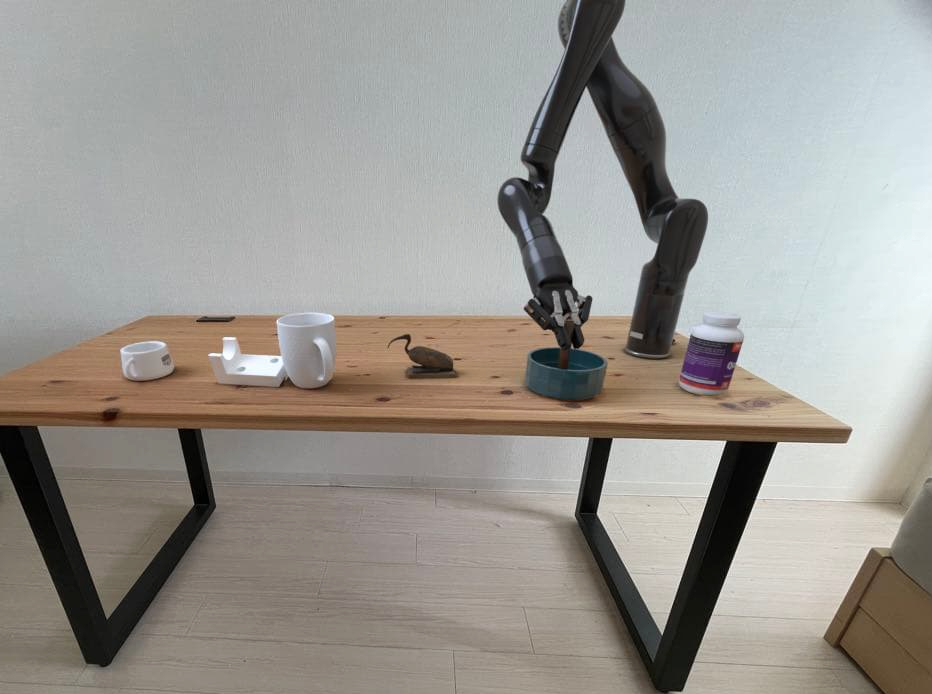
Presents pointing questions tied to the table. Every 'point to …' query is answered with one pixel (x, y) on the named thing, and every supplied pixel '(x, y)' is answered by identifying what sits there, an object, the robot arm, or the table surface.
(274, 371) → the bracket
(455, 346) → the table surface
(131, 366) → the mug
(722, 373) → the pill bottle
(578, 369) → the bowl
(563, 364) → the brown peg
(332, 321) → the mug
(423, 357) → the figurine
